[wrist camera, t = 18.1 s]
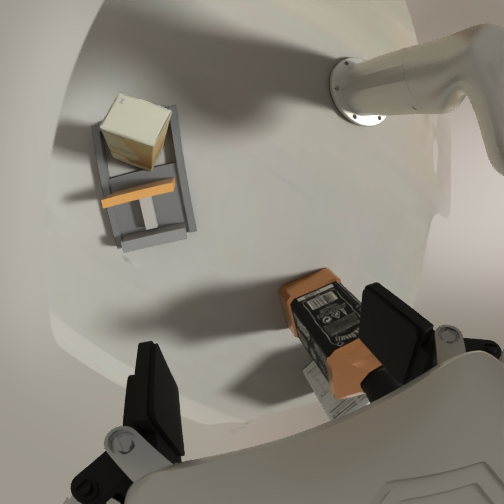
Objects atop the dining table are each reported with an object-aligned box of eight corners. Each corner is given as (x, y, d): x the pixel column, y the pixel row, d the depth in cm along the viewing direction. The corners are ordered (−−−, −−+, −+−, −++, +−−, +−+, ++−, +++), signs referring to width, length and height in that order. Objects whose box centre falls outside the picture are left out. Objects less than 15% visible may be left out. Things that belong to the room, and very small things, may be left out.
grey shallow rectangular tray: (175, 106, 33) (175, 101, 29) (196, 228, 39) (197, 236, 36) (95, 127, 30) (85, 125, 27) (119, 245, 37) (114, 255, 34)
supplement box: (300, 371, 56) (333, 430, 40) (343, 330, 54) (389, 383, 39) (330, 386, 61) (363, 435, 45) (368, 350, 60) (408, 396, 44)
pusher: (174, 177, 35) (172, 182, 29) (182, 219, 37) (182, 233, 31) (115, 191, 33) (101, 200, 27) (124, 232, 36) (114, 248, 29)
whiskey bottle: (288, 329, 50) (376, 469, 21) (277, 287, 46) (387, 442, 17) (335, 308, 52) (442, 424, 23) (330, 265, 48) (464, 383, 19)
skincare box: (112, 158, 32) (95, 127, 20) (125, 130, 32) (116, 90, 21) (153, 173, 34) (154, 147, 23) (166, 145, 34) (173, 109, 23)
